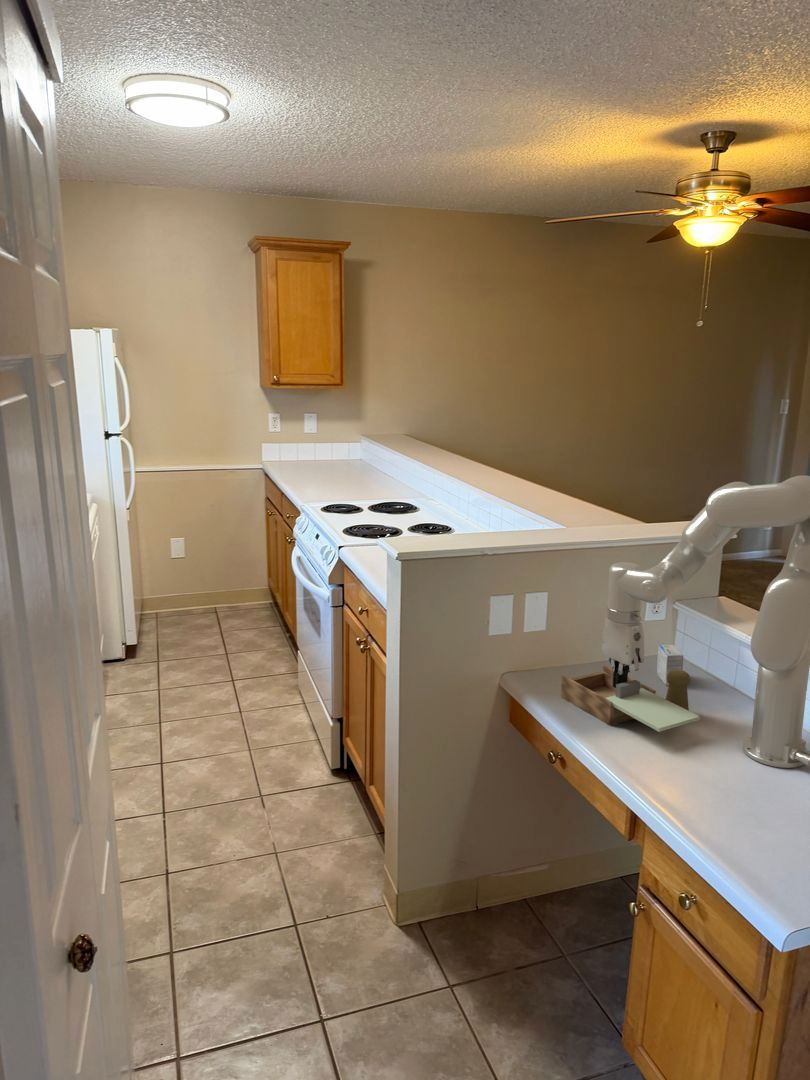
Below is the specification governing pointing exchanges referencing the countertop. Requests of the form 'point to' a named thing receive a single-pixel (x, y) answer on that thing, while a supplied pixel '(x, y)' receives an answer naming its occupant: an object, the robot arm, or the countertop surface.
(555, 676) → the countertop surface
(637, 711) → the lid
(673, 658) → the medicine box
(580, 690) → the wooden drawer box
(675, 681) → the cork
